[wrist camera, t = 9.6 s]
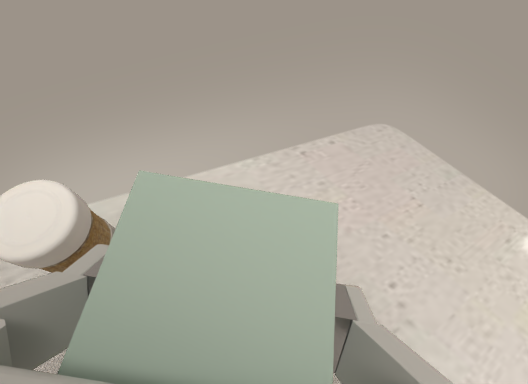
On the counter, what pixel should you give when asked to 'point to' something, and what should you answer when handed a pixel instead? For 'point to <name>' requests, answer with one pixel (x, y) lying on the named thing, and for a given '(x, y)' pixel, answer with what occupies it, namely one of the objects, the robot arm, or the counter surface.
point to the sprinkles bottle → (48, 226)
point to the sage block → (211, 289)
